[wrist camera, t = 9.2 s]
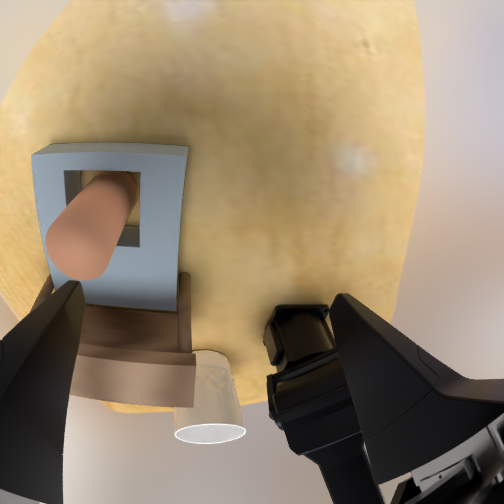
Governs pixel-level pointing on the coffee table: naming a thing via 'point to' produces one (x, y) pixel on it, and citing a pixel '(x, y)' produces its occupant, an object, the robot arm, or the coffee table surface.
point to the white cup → (211, 404)
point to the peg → (91, 225)
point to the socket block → (132, 238)
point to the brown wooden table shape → (135, 354)
